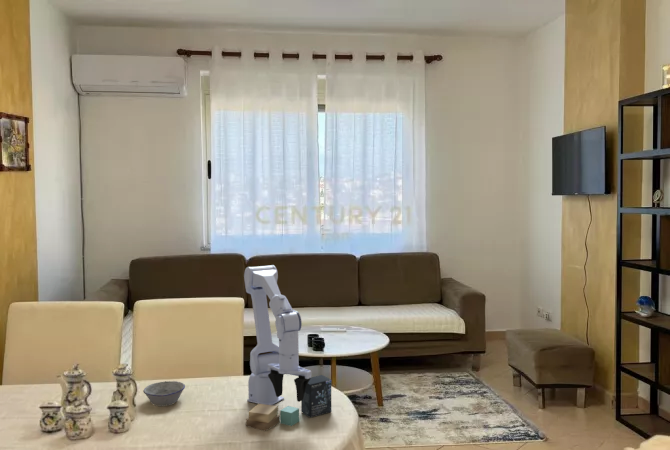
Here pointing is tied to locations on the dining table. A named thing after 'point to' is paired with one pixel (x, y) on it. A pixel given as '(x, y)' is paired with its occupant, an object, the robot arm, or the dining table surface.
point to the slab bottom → (263, 423)
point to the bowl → (164, 392)
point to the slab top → (263, 413)
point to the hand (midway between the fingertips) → (289, 398)
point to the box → (317, 397)
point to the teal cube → (289, 415)
